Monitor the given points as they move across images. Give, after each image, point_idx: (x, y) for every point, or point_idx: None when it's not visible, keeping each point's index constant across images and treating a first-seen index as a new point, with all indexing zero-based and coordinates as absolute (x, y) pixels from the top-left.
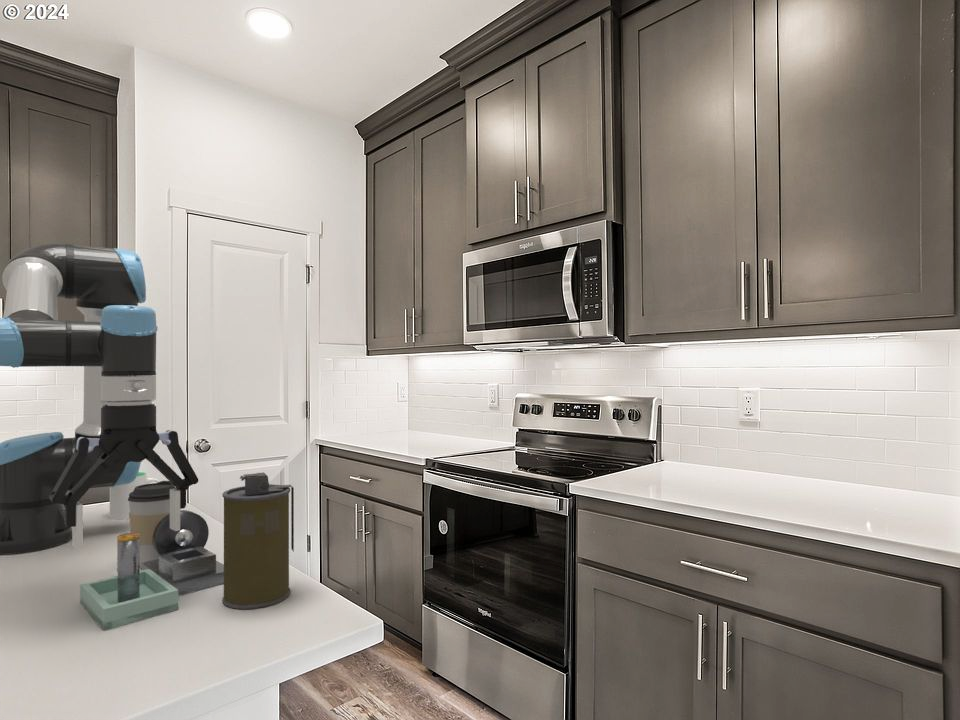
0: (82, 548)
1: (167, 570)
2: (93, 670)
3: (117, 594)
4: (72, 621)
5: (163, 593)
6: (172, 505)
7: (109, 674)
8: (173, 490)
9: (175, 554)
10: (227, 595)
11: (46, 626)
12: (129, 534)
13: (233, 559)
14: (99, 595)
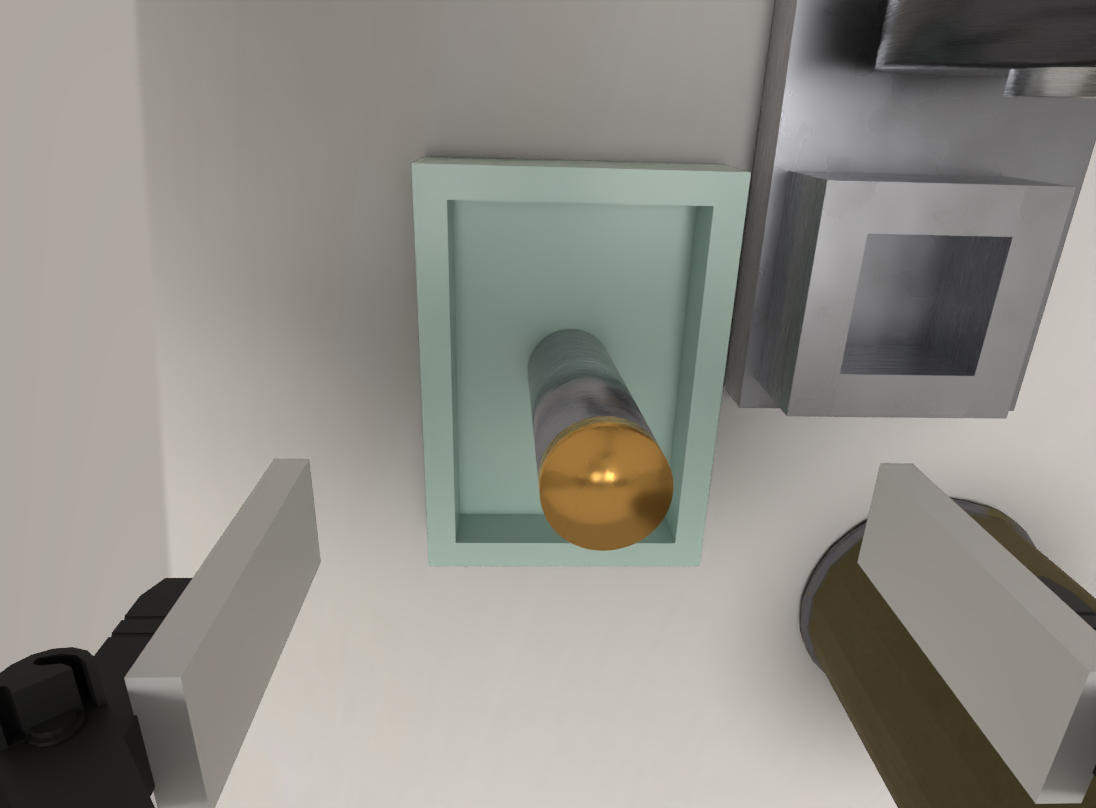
0: (318, 565)
1: (782, 319)
2: (362, 740)
3: (530, 366)
4: (365, 357)
5: (644, 563)
6: (967, 627)
7: (389, 779)
8: (1061, 751)
9: (895, 233)
10: (819, 632)
11: (279, 336)
12: (612, 494)
13: (887, 781)
14: (449, 403)
